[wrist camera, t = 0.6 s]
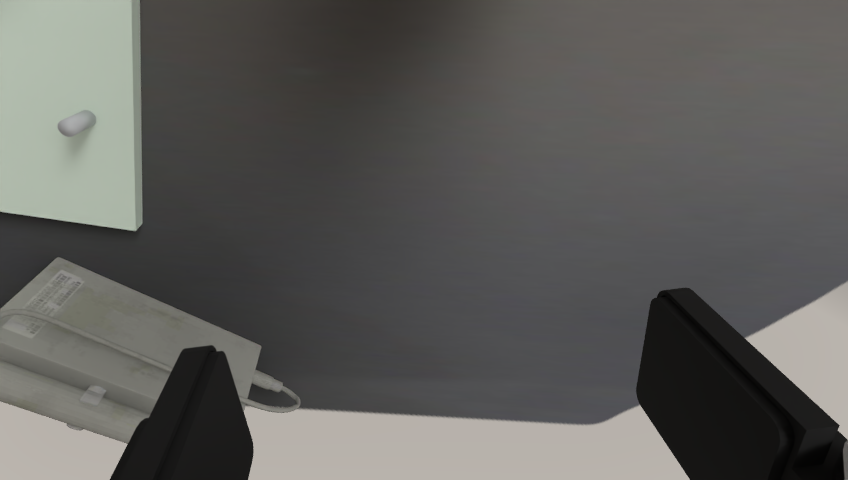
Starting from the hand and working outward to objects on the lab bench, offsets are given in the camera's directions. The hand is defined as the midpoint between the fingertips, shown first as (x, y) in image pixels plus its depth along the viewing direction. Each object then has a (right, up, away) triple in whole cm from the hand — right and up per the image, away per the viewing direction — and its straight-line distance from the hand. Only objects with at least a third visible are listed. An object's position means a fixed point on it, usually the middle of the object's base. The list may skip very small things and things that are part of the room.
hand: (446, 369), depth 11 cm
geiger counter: (-23, -5, +38) cm, 45 cm away
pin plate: (-33, +14, +27) cm, 44 cm away
